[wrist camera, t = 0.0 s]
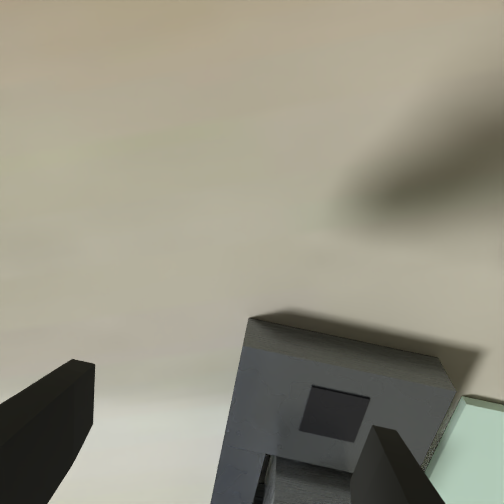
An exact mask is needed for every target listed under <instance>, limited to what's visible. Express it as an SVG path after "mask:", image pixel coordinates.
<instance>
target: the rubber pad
mask: <svg viewBox="0 0 504 504" xmlns="http://www.w3.org/2000/svg"><path fill="white" fill-rule="evenodd" d="M425 474H426V476H427V477H428V479H429V480H430V482H431V483H432V485H433V486H434V487H435V489H436V490H437V492H438V493H439V495H440V496H441V498H442V499H443V501H444V502H445V503H446V504H504V405H501V404H497V403H492V402H487V401H483V400H478V399H473V398H469V397H464V396H462V397H461V399H460V401H459V403H458V405H457V407H456V409H455V411H454V413H453V415H452V417H451V419H450V421H449V423H448V425H447V427H446V430H445V432H444V434H443V436H442V438H441V440H440V442H439V444H438V446H437V448H436V450H435V452H434V454H433V456H432V458H431V460H430V462H429V464H428V466H427V468H426V470H425Z"/></svg>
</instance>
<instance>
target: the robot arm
mask: <svg viewBox="0 0 504 504" xmlns="http://www.w3.org/2000/svg"><path fill="white" fill-rule="evenodd" d="M94 382H95V364H93V363H88V362H84V361H79V360H74V359H72V360H70V361H68V362H67V363H65V364H63V365H62V366H60V367H59V368H57V369H55V370H54V371H52V372H51V373H49V374H48V375H46V376H44V377H43V378H41V379H40V380H38V381H37V382H35V383H33V384H32V385H30V386H29V387H27V388H26V389H24V390H22V391H21V392H19V393H18V394H16V395H14V396H13V397H11V398H9V399H8V400H6V401H5V402H3V403H1V404H0V504H47V503H48V502H49V500H50V499H51V497H52V496H53V494H54V493H55V491H56V490H57V488H58V486H59V485H60V483H61V482H62V480H63V479H64V477H65V475H66V474H67V472H68V471H69V469H70V468H71V466H72V464H73V463H74V461H75V459H76V457H77V455H78V453H79V451H80V449H81V447H82V445H83V443H84V441H85V439H86V437H87V435H88V433H89V431H90V429H91V427H92V425H93V409H94ZM350 497H351V504H446V503H445V502H444V501H443V499H442V498H441V496H440V495H439V493H438V492H437V490H436V489H435V487H434V486H433V485H432V483H431V482H430V480H429V479H428V477H427V476H426V474H425V473H424V471H423V470H422V468H421V467H420V465H419V464H418V462H417V461H416V459H415V458H414V456H413V454H412V453H411V451H410V450H409V448H408V447H407V445H406V444H405V442H404V441H403V439H402V438H401V436H400V435H399V433H398V432H397V431H396V430H393V429H389V428H384V427H380V426H375V425H372V427H371V429H370V432H369V434H368V437H367V439H366V442H365V444H364V447H363V449H362V452H361V454H360V457H359V459H358V462H357V465H356V467H355V470H354V472H353V475H352V477H351V480H350Z"/></svg>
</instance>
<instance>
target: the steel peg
mask: <svg viewBox="0 0 504 504" xmlns="http://www.w3.org/2000/svg"><path fill="white" fill-rule="evenodd" d="M263 504H351V497H350V476H349V472H346V471H342V470H337V469H333V468H328V467H324V466H319V465H315V464H310V463H306V462H301V461H297V460H292V459H288V458H283V457H278V456H274V455H271V456H270V460H269V463H268V467H267V471H266V474H265V483H264V496H263Z"/></svg>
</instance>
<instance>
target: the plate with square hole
mask: <svg viewBox="0 0 504 504" xmlns="http://www.w3.org/2000/svg"><path fill="white" fill-rule="evenodd" d="M455 393H456V390H455V388H454V386H453V384H452V382H451V381H450V379H449V377H448V375H447V373H446V372H445V370H444V368H443V366H442V364H441V363H440V361H439V359H438V358H436V357H431V356H426V355H422V354H417V353H412V352H407V351H403V350H398V349H393V348H388V347H384V346H379V345H374V344H369V343H365V342H360V341H355V340H351V339H346V338H341V337H336V336H332V335H327V334H322V333H317V332H313V331H308V330H303V329H298V328H294V327H289V326H284V325H280V324H275V323H270V322H265V321H261V320H256V319H251V318H249V319H248V324H247V328H246V333H245V338H244V342H243V347H242V352H241V357H240V362H239V367H238V372H237V377H236V381H235V386H234V391H233V396H232V401H231V406H230V411H229V416H228V421H227V425H226V430H225V435H224V440H223V445H222V450H221V455H220V460H219V465H218V469H217V474H216V479H215V484H214V489H213V494H212V499H211V504H263V496H264V484H261V483H258V480H259V477H260V473H261V469H262V465H263V461H264V458H265V454H269V455H274V456H278V457H283V458H288V459H292V460H297V461H301V462H306V463H310V464H315V465H319V466H324V467H328V468H333V469H337V470H342V471H346V472H349V476H350V480H351V477H352V475H353V472H354V470H355V467H356V465H357V462H358V459H359V457H360V454H361V452H362V449H363V447H364V444H365V442H366V439H367V437H368V434H369V432H370V429H371V427H372V425H375V426H380V427H384V428H389V429H393V430H396V431H397V432H398V433H399V435H400V436H401V438H402V439H403V441H404V442H405V444H406V445H407V447H408V448H409V450H410V451H411V453H412V454H413V456H414V458H415V459H416V461H417V462H418V464H419V465H420V466H421V464H422V462H423V460H424V458H425V456H426V454H427V452H428V450H429V448H430V446H431V443H432V441H433V439H434V437H435V435H436V433H437V431H438V429H439V427H440V425H441V423H442V421H443V418H444V416H445V414H446V412H447V410H448V408H449V406H450V404H451V402H452V400H453V398H454V395H455Z"/></svg>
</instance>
